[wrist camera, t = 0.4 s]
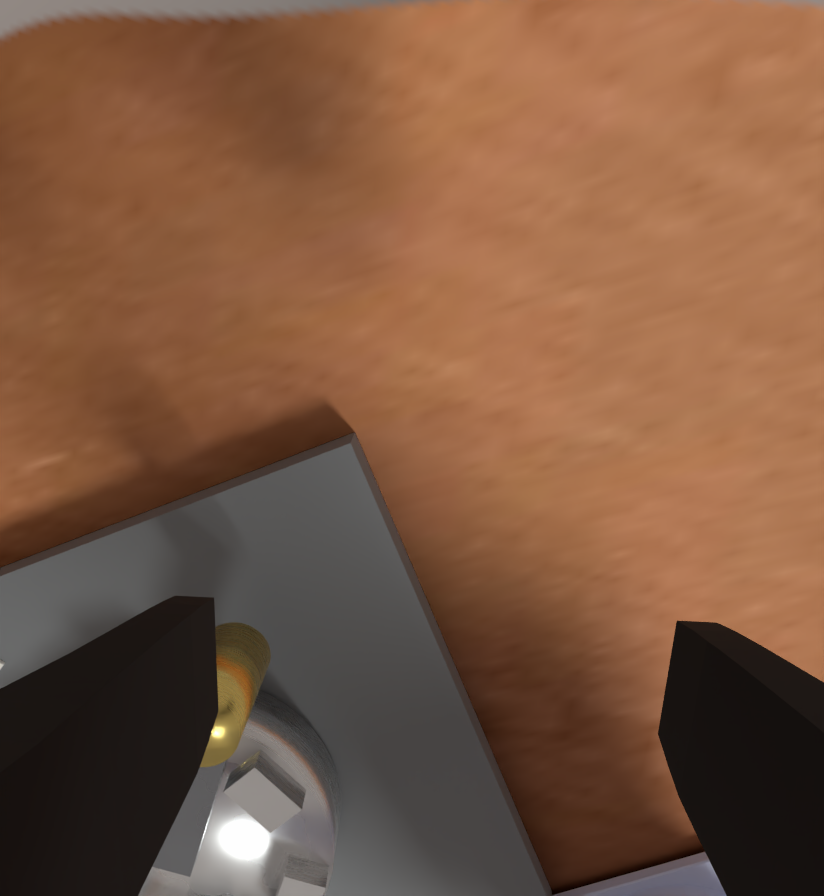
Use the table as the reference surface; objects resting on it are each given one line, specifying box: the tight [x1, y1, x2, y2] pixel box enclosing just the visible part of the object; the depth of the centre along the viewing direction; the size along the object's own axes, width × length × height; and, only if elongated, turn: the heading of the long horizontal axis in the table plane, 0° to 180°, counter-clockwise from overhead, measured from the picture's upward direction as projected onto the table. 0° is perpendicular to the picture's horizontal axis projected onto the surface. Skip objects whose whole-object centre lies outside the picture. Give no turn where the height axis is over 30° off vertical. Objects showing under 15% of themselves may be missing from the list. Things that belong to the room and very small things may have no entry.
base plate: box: [0, 432, 552, 896], centre depth 22 cm, size 18×18×1 cm
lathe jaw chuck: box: [138, 622, 341, 896], centre depth 18 cm, size 12×9×5 cm
